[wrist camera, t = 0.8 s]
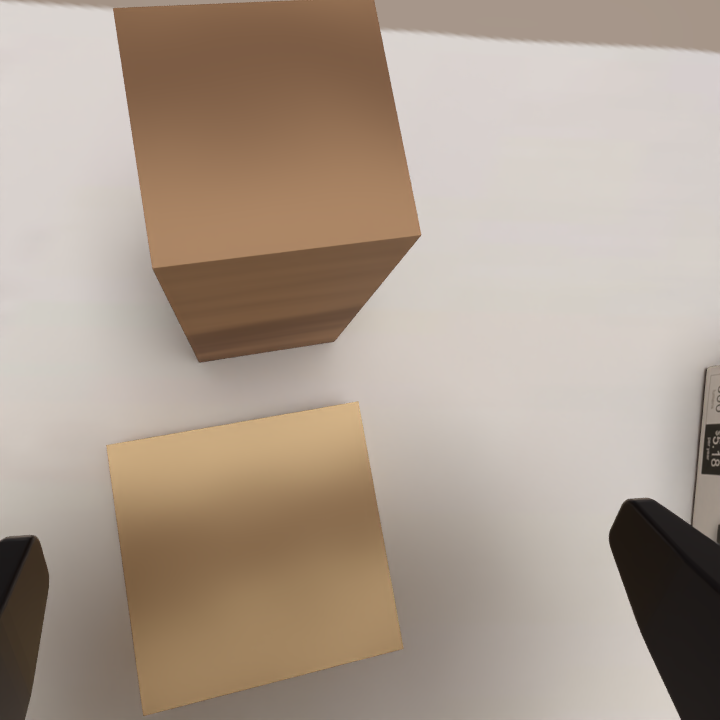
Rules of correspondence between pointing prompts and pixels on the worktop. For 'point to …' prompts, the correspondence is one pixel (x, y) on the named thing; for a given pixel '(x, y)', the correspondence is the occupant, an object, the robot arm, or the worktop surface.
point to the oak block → (251, 554)
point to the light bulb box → (709, 461)
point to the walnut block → (266, 166)
